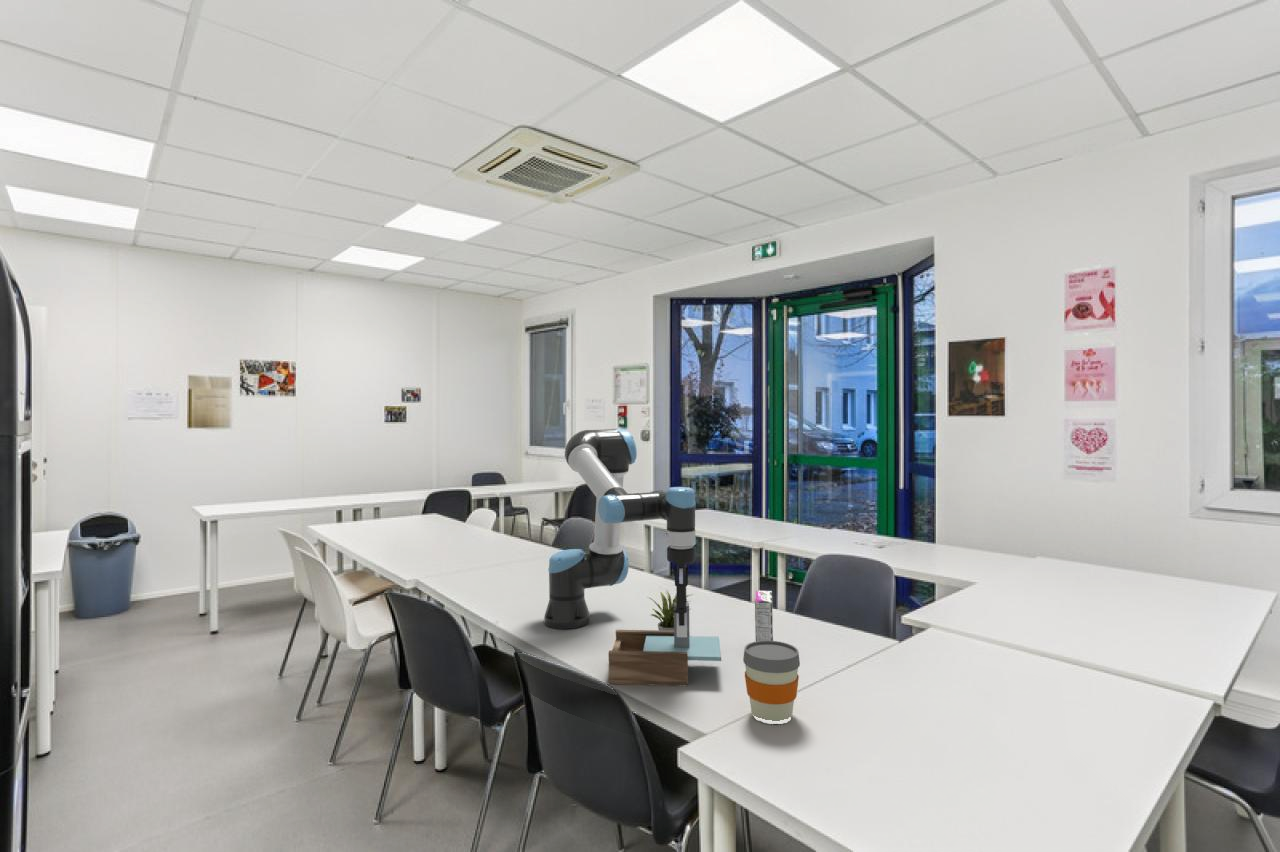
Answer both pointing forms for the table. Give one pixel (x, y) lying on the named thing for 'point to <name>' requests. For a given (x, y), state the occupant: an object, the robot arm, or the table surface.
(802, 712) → the table surface
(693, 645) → the cover plate
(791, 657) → the reusable coffee cup
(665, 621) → the house plant
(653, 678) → the walnut box
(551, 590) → the robot arm
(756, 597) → the candy bar box
